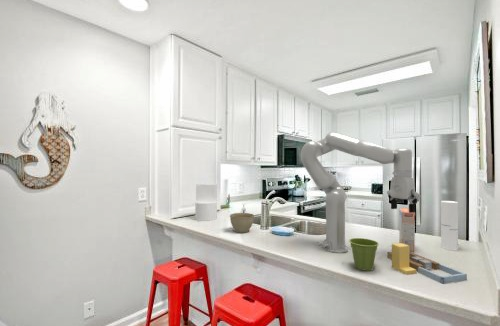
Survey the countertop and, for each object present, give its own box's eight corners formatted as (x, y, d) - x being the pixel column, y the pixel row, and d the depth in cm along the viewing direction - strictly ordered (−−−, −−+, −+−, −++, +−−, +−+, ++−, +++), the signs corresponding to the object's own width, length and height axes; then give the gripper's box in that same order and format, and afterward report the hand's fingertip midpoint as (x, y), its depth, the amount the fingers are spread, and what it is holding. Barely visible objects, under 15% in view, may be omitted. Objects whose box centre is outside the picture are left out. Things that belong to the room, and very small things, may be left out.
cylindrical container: (442, 245, 140) (442, 200, 140) (458, 248, 134) (458, 201, 135) (439, 248, 135) (439, 201, 135) (457, 251, 129) (457, 203, 130)
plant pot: (382, 267, 109) (382, 241, 109) (373, 276, 101) (373, 248, 101) (355, 260, 117) (355, 236, 118) (344, 267, 109) (344, 241, 109)
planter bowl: (255, 233, 161) (256, 217, 162) (230, 234, 159) (230, 217, 159) (251, 227, 177) (252, 212, 177) (229, 228, 175) (229, 212, 175)
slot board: (418, 274, 102) (418, 265, 102) (387, 259, 118) (387, 252, 118) (439, 271, 105) (439, 263, 105) (405, 257, 121) (405, 250, 121)
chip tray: (442, 286, 92) (442, 277, 92) (417, 274, 102) (417, 266, 102) (466, 282, 95) (466, 274, 95) (440, 271, 105) (440, 263, 105)
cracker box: (415, 254, 125) (415, 212, 125) (401, 252, 127) (401, 211, 127) (411, 246, 137) (411, 208, 137) (398, 245, 140) (398, 207, 140)
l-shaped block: (406, 277, 100) (406, 249, 100) (391, 269, 107) (391, 243, 107) (416, 275, 101) (416, 248, 101) (401, 268, 108) (401, 243, 108)
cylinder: (199, 216, 215) (199, 183, 215) (218, 216, 213) (219, 183, 214) (192, 220, 198) (192, 185, 198) (214, 221, 196) (214, 185, 196)
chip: (425, 270, 104) (425, 262, 104) (418, 267, 107) (418, 260, 107) (431, 269, 104) (431, 262, 104) (424, 266, 107) (424, 259, 108)
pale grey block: (417, 267, 107) (417, 259, 107) (410, 264, 110) (410, 256, 110) (423, 266, 108) (423, 258, 108) (416, 263, 111) (416, 256, 111)
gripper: (381, 174, 127) (381, 208, 127) (413, 175, 111) (413, 214, 110) (393, 173, 129) (393, 207, 129) (426, 175, 113) (426, 213, 113)
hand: (402, 210), depth 120 cm, fingers open, 9 cm apart
